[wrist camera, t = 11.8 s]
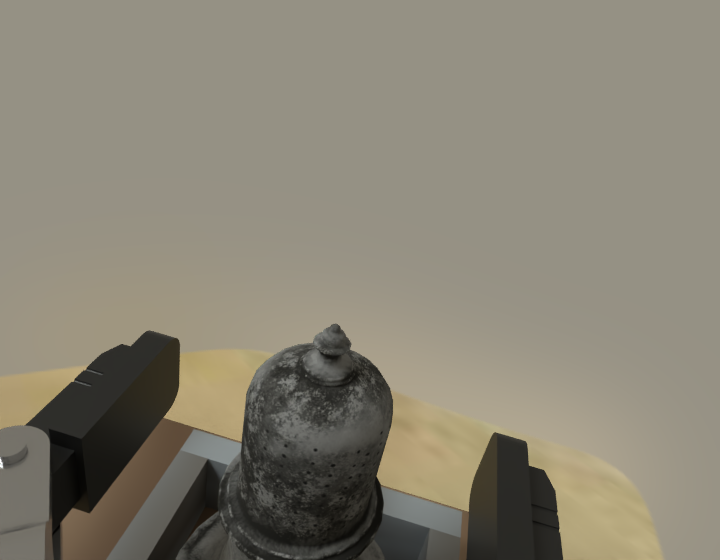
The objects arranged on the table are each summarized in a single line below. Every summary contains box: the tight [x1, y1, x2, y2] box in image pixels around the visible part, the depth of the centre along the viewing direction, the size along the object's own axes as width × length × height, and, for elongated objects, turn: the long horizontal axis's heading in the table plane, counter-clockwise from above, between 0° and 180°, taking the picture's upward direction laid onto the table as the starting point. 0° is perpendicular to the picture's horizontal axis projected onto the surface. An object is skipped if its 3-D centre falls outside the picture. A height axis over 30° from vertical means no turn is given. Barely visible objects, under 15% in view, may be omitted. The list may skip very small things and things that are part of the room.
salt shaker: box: [175, 324, 393, 560], centre depth 13 cm, size 6×6×12 cm
